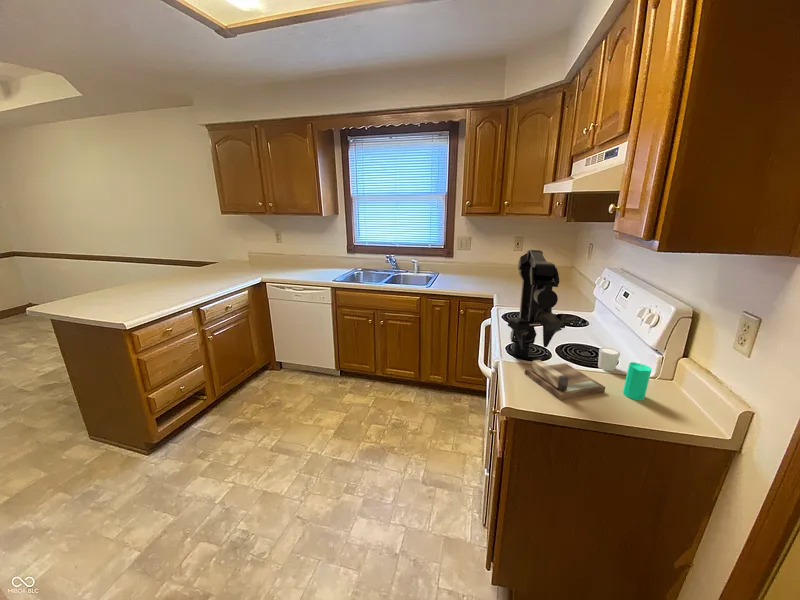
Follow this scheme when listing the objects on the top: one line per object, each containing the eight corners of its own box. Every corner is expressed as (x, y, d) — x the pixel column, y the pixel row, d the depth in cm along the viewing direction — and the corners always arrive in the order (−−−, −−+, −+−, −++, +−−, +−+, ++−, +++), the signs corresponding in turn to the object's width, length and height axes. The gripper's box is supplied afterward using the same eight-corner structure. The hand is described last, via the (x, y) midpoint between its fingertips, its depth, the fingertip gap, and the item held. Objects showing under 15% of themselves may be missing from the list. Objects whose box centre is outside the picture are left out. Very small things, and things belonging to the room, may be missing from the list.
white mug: (619, 372, 129) (623, 355, 128) (599, 370, 131) (603, 353, 129) (612, 364, 136) (616, 348, 134) (593, 362, 137) (596, 346, 135)
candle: (618, 392, 116) (625, 359, 113) (630, 389, 118) (638, 356, 115) (636, 401, 111) (644, 367, 107) (648, 398, 113) (657, 364, 110)
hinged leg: (569, 389, 112) (570, 379, 111) (561, 390, 111) (563, 380, 110) (538, 368, 126) (539, 359, 125) (531, 369, 125) (532, 360, 124)
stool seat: (524, 373, 127) (525, 368, 126) (564, 367, 132) (565, 362, 132) (560, 400, 110) (561, 394, 110) (604, 392, 116) (605, 386, 115)
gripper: (532, 308, 102) (526, 358, 105) (581, 306, 108) (574, 354, 111) (509, 300, 113) (504, 346, 116) (555, 299, 119) (550, 343, 122)
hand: (533, 347), depth 116 cm, fingers open, 9 cm apart
